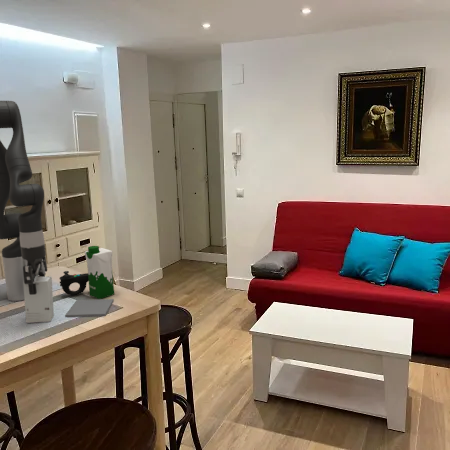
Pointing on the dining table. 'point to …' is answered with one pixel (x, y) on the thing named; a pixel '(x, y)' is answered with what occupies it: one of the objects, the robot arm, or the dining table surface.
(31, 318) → the skincare box
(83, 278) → the controller
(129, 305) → the dining table surface
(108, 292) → the milk carton
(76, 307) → the mat
